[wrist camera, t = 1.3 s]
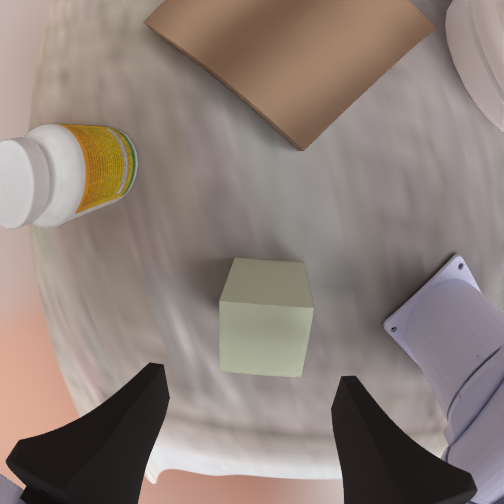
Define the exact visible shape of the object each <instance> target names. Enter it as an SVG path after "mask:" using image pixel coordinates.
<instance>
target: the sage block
mask: <svg viewBox="0 0 504 504" xmlns="http://www.w3.org/2000/svg"><path fill="white" fill-rule="evenodd" d="M313 311H314V305H313V301H312V297H311V292H310V288H309V284H308V279H307V275H306V271H305V267H304V263H302V262H288V261H275V260H261V259H248V258H234V261H233V264H232V267H231V269H230V272H229V275H228V278H227V281H226V283H225V286H224V289H223V292H222V295H221V298H220V300H219V371H223V372H233V373H243V374H254V375H267V376H284V377H301V375H302V370H303V365H304V360H305V355H306V350H307V345H308V340H309V334H310V329H311V323H312V317H313Z"/></svg>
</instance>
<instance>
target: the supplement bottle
mask: <svg viewBox="0 0 504 504" xmlns="http://www.w3.org/2000/svg"><path fill="white" fill-rule="evenodd" d="M137 169H138V157H137V152H136V149H135V146H134V144H133V142H132V141H131V139H130V138H129V137H128V136H127V135H126V134H125V133H123V132H122V131H120V130H118V129H115V128H111V127H104V126H90V125H70V124H44V125H41V126H38V127H36V128H34V129H32V130H31V131H29V132H28V133H27V134H26V135H25V136H24V137H20V138H13V139H7V140H4V141H2V142H0V225H1V226H3V227H4V228H7V229H16V228H19V227H21V226H24V225H27V224H33V225H35V226H38V227H42V228H52V227H56V226H59V225H62V224H64V223H66V222H69V221H71V220H73V219H75V218H78V217H80V216H82V215H85V214H87V213H89V212H92V211H94V210H97V209H100V208H102V207H105V206H108V205H110V204H113V203H115V202H117V201H119V200H120V199H122V198H123V197H124V196H125V195H126V194H127V193H128V192H129V191H130V189H131V187H132V185H133V183H134V181H135V178H136V174H137Z"/></svg>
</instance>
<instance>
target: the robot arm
mask: <svg viewBox="0 0 504 504" xmlns="http://www.w3.org/2000/svg"><path fill="white" fill-rule="evenodd" d="M460 263H461V265H460V267H459V268H458V266H459V264H460ZM383 326H384V328H385V330H386V331H387V332H388V333H389V334H390V335H391V336H392V338H393V339H394V340H395V341H396V342H397V343H398V344H399V345H400V346H401V347H402V348H403V349H404V350H405V351H406V353H407V354H408V355H409V356H410V357H411V358H412V359H413V360H414V361H415V362H416V363H417V364H418V366H419V367H420V368H421V370H422V372H423V374H424V375H425V377H426V379H427V381H428V383H429V385H430V387H431V389H432V390H433V392H434V394H435V396H436V398H437V400H438V402H439V404H440V406H441V408H442V410H443V412H444V414H445V416H446V418H447V420H448V426H447V428H446V430H445V431H444V432H443V434H444V436H445V438H446V440H447V443H448V445H449V446H448V447H447V448H446V449H445V451H444V453H443V455H442V457H441V459H440V458H438V457H436V456H435V455H433V454H431V453H430V452H429V451H427V450H426V449H424V448H423V447H421V446H420V445H419V444H417V443H416V442H415V441H414V440H412V439H411V438H410V437H409V436H408V435H407V434H405V433H404V432H403V431H402V430H401V429H400V428H399V427H398V426H397V425H396V424H395V423H394V422H393V421H392V420H391V419H390V418H389V417H388V415H387V414H386V413H385V412H384V411H383V410H382V409H381V407H380V406H379V405H378V404H377V403H376V401H375V400H374V399H373V398H372V396H371V395H370V394H369V392H368V391H367V390H366V389H365V387H364V386H363V385H362V383H361V382H360V381H359V379H358V378H357V377H356V376H341V379H340V383H339V386H338V389H337V392H336V395H335V399H334V402H333V405H332V408H331V412H332V425H333V432H334V437H335V442H336V446H337V451H338V456H339V461H340V465H341V470H342V477H343V488H344V504H504V313H503V312H502V311H501V310H500V309H498V308H497V307H496V306H495V305H494V304H493V303H492V302H491V301H490V300H488V299H487V298H486V297H485V296H484V295H483V294H482V293H481V291H480V289H479V287H478V285H477V283H476V281H475V279H474V277H473V276H472V274H471V272H470V270H469V268H468V266H467V265H466V263H465V261H464V259H463V258H462V257H461V256H460V255H459V254H455V255H454V256H453V257H452V258H451V259H450V260H449V261H448V262H447V263H446V264H445V265H444V266H443V267H442V268H441V269H440V270H439V271H438V272H437V273H436V274H435V275H434V276H433V277H432V278H431V279H430V280H429V281H428V282H427V283H426V284H425V285H424V286H423V287H422V288H421V289H420V290H419V291H418V292H417V293H416V294H414V295H413V296H412V297H411V298H410V299H409V300H408V301H407V302H406V303H405V304H404V305H402V306H401V307H400V308H399V309H398V310H397V311H396V312H395V313H393V314H392V315H391V316H390V317H389V318H388V319H386V320H385V322H384V324H383ZM393 327H395V328H394V329H393V330H391V329H392V328H393ZM169 399H170V396H169V391H168V386H167V381H166V375H165V369H164V365H163V364H157V363H151V362H150V363H149V364H147V365H146V366H145V367H144V368H143V369H142V370H141V371H140V372H139V373H138V374H137V375H136V376H134V377H133V378H132V379H131V380H130V381H129V382H128V383H127V384H126V385H124V386H123V387H122V388H121V389H120V390H119V391H118V392H116V393H115V394H114V395H113V396H111V397H110V398H109V399H107V400H106V401H105V402H104V403H102V404H101V405H100V406H98V407H97V408H95V409H94V410H92V411H91V412H89V413H87V414H86V415H84V416H82V417H81V418H79V419H77V420H75V421H73V422H71V423H69V424H67V425H65V426H63V427H60V428H58V429H55V430H53V431H50V432H48V433H45V434H41V435H38V436H35V437H30V438H26V439H22V440H19V441H18V442H17V444H16V445H15V447H14V448H13V450H12V452H11V453H10V455H9V456H8V458H7V459H6V464H7V465H8V467H9V468H10V470H11V471H12V472H13V473H14V474H15V475H16V476H17V477H18V478H19V479H20V480H21V481H22V482H23V483H24V484H25V485H26V488H25V490H23V489H22V488H20V487H19V486H17V485H16V484H14V483H13V482H12V481H10V480H8V479H7V478H6V477H4V476H3V475H1V474H0V504H138V499H139V495H140V490H141V485H142V481H143V477H144V473H145V469H146V465H147V462H148V459H149V456H150V454H151V451H152V449H153V446H154V444H155V441H156V439H157V436H158V434H159V431H160V429H161V426H162V424H163V421H164V419H165V415H166V411H167V407H168V403H169Z"/></svg>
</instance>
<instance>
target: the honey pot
mask: <svg viewBox="0 0 504 504" xmlns="http://www.w3.org/2000/svg"><path fill="white" fill-rule="evenodd" d="M445 29H446V36H447V44H448V47H449V50H450V53H451V56H452V60H453V63H454V66H455V68H456V70H457V72H458V74H459V76H460V78H461V80H462V83H463V85H464V87H465V88H466V90H467V91H468V93H469V94H470V96H471V98H472V99H473V101H474V102H475V104H476V106H477V107H478V108H479V109H480V110H481V111H482V113H483V114H484V115H485V116H486V117H487V119H488V120H489V121H490V122H491V123H493V124H494V125H495V126H496V127H498V128H499V129H500V130H501V131H502V132H504V0H453V1H452V2H451V4H450V6H449V7H448V9H447V13H446V21H445Z"/></svg>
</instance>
